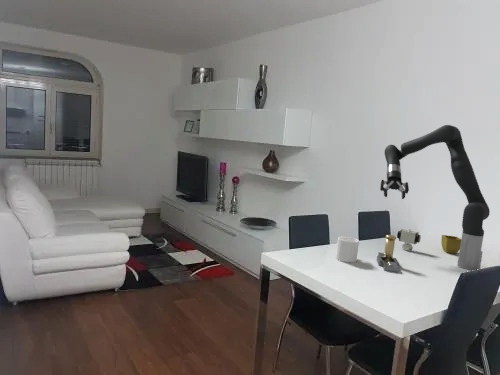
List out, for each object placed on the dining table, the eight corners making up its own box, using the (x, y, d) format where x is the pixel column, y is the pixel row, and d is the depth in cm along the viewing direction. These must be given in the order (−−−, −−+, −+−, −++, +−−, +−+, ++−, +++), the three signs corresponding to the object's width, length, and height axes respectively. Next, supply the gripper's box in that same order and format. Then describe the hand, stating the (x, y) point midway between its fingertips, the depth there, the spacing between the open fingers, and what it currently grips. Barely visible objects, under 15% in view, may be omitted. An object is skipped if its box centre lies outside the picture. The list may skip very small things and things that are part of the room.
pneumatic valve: (416, 253, 216) (419, 232, 214) (395, 248, 223) (398, 227, 221) (419, 251, 220) (422, 230, 219) (397, 246, 227) (400, 226, 226)
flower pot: (454, 251, 229) (456, 236, 228) (461, 255, 220) (463, 240, 219) (439, 249, 229) (441, 234, 228) (444, 253, 221) (447, 238, 220)
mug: (348, 264, 184) (351, 242, 183) (331, 258, 191) (333, 237, 190) (363, 260, 192) (365, 240, 191) (346, 254, 200) (348, 235, 198)
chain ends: (393, 259, 200) (393, 253, 199) (401, 273, 177) (402, 266, 177) (374, 256, 201) (375, 250, 201) (380, 270, 179) (381, 263, 178)
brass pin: (391, 263, 191) (395, 235, 190) (393, 266, 187) (397, 237, 185) (381, 262, 192) (385, 234, 191) (382, 264, 187) (386, 236, 186)
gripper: (381, 168, 214) (382, 191, 205) (409, 171, 212) (410, 194, 202) (379, 177, 220) (379, 200, 210) (405, 180, 218) (407, 203, 208)
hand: (394, 197), depth 206 cm, fingers open, 8 cm apart
